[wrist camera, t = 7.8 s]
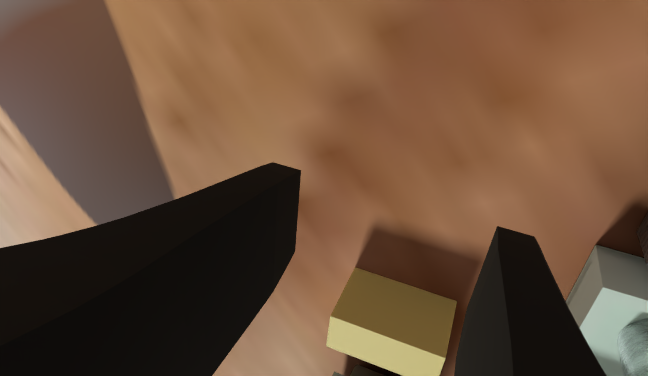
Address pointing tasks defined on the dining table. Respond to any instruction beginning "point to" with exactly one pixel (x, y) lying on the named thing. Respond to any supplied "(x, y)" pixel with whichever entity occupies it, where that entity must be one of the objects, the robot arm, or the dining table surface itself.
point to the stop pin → (634, 348)
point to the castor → (361, 372)
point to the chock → (392, 325)
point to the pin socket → (644, 237)
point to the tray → (609, 301)
